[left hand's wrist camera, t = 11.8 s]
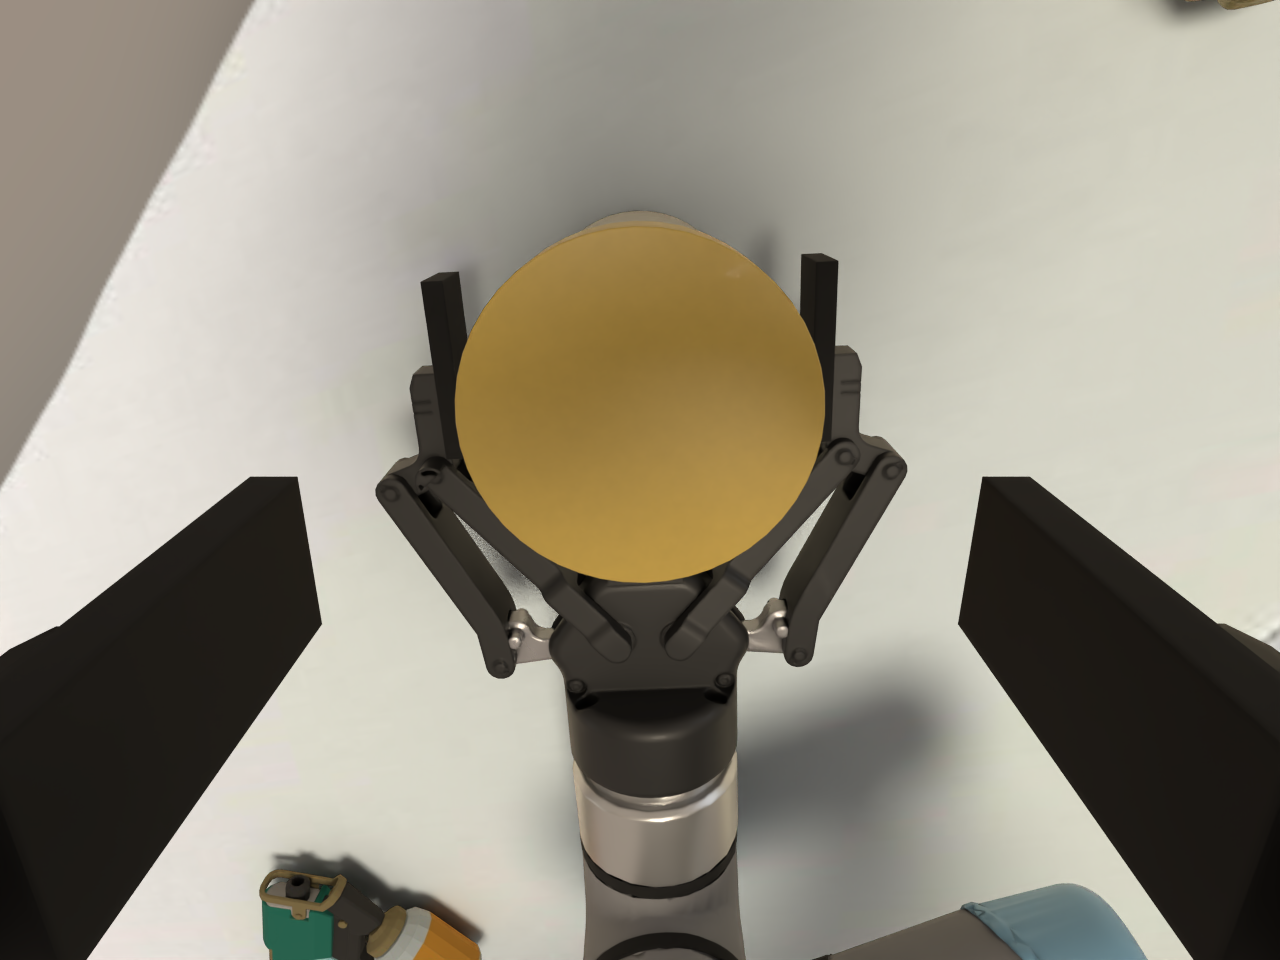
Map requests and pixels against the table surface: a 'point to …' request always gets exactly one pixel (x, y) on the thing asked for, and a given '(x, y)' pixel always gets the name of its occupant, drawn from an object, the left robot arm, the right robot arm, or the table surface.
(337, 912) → the spray gun
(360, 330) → the table surface
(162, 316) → the table surface
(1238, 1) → the sculpture
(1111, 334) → the table surface
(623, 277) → the lid
